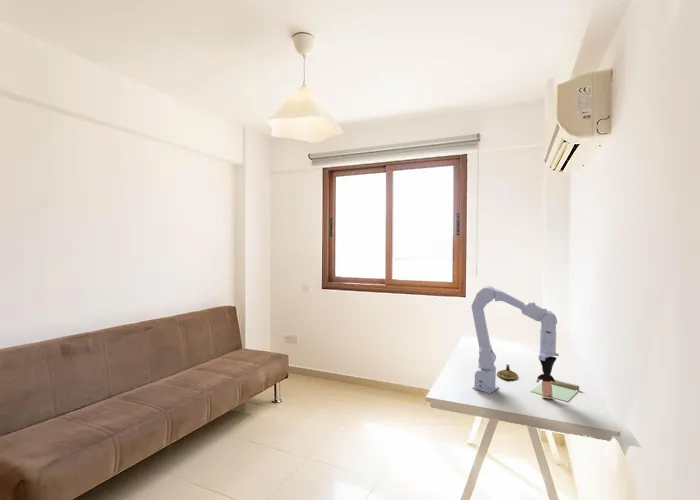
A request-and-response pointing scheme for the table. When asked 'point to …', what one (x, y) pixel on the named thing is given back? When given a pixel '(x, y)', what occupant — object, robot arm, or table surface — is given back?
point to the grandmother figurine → (546, 384)
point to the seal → (507, 374)
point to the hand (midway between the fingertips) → (547, 374)
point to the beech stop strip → (566, 385)
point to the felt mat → (557, 392)
